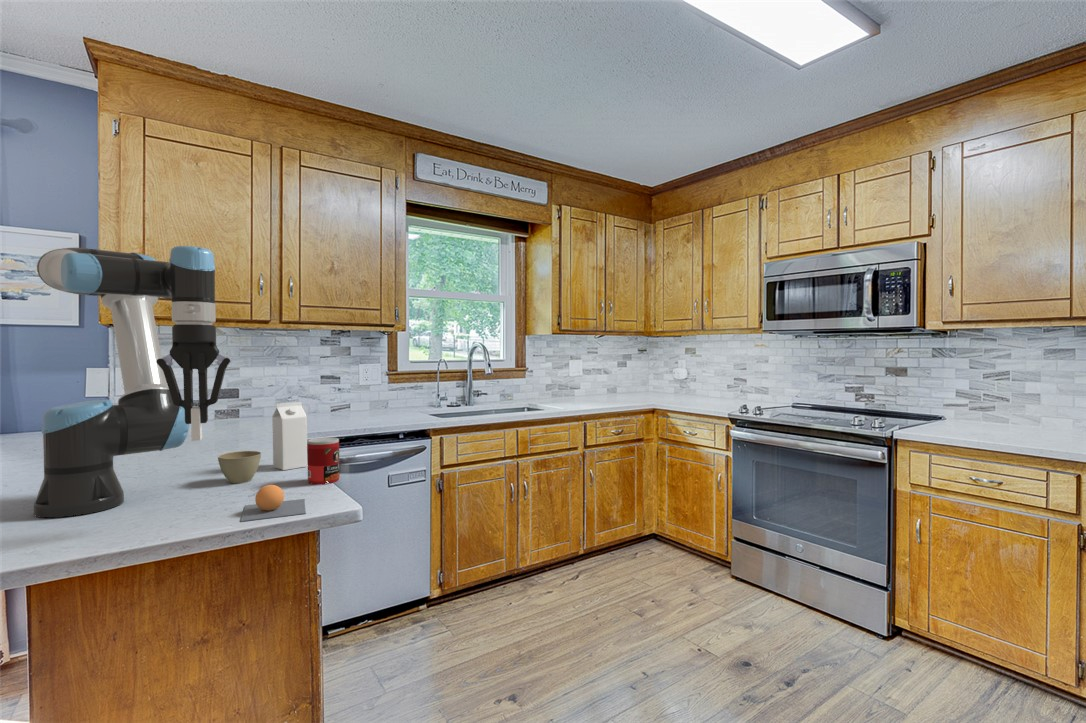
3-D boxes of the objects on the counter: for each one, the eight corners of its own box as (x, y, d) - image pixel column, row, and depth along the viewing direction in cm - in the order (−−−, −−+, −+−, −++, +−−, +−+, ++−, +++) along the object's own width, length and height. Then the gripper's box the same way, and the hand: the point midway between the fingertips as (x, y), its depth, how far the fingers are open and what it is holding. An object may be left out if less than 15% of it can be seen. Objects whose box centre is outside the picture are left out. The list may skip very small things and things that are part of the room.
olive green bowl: (209, 485, 139) (208, 457, 139) (237, 476, 149) (236, 450, 149) (243, 486, 138) (243, 458, 138) (269, 477, 148) (269, 451, 147)
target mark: (240, 521, 109) (240, 520, 109) (245, 506, 120) (245, 505, 120) (305, 513, 114) (305, 512, 114) (304, 499, 125) (304, 498, 125)
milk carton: (273, 467, 160) (271, 403, 160) (297, 463, 165) (296, 401, 165) (283, 470, 155) (281, 404, 155) (307, 466, 161) (306, 402, 160)
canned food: (329, 485, 138) (328, 442, 138) (301, 484, 140) (300, 441, 140) (345, 478, 146) (345, 437, 146) (319, 477, 147) (318, 436, 147)
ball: (268, 519, 115) (249, 502, 113) (267, 511, 119) (249, 494, 118) (290, 500, 116) (271, 483, 115) (288, 493, 121) (271, 476, 119)
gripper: (151, 322, 104) (154, 445, 105) (229, 323, 110) (231, 439, 110) (159, 324, 111) (162, 439, 112) (232, 325, 117) (235, 434, 117)
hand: (196, 439), depth 111 cm, fingers closed
